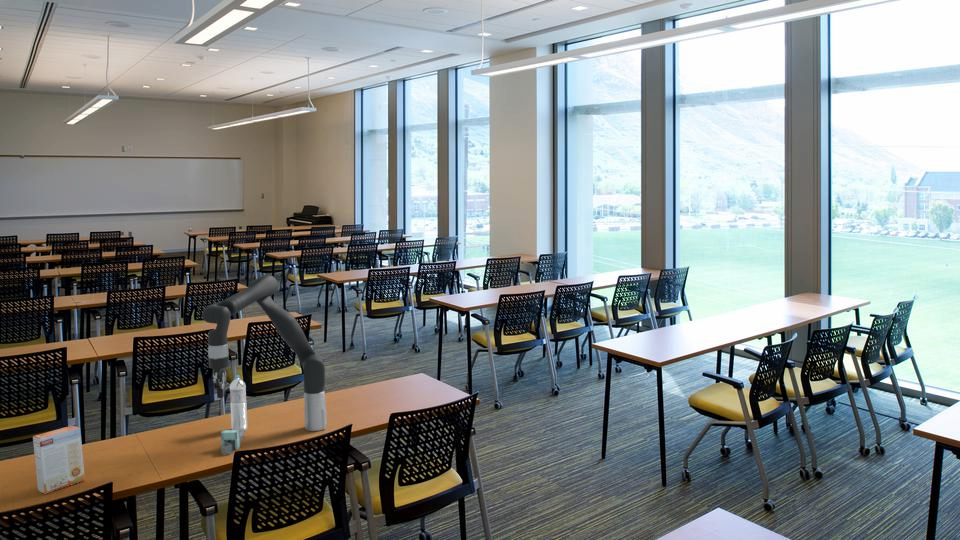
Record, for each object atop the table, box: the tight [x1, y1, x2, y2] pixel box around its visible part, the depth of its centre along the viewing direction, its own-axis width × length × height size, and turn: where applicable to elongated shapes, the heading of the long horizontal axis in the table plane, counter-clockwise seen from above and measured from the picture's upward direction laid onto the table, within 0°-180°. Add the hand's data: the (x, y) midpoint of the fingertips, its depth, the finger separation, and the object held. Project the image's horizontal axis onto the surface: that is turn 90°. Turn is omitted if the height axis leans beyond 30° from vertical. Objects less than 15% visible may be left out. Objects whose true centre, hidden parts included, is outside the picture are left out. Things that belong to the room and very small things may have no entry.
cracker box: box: [32, 425, 86, 494], centre depth 251 cm, size 14×6×21 cm, turn 145°
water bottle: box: [229, 374, 248, 432], centre depth 310 cm, size 7×7×25 cm
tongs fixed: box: [220, 429, 245, 456], centre depth 291 cm, size 20×4×4 cm, turn 3°
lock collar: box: [220, 429, 241, 450], centre depth 288 cm, size 3×7×7 cm, turn 93°
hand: (220, 397), depth 276 cm, fingers closed
